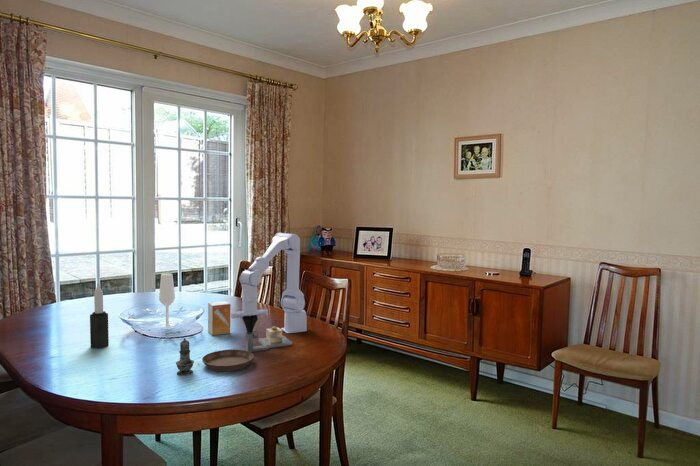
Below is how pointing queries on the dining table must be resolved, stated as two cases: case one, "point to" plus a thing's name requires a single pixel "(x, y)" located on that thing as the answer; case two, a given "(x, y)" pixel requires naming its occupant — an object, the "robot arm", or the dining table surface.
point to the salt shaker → (184, 359)
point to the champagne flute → (167, 294)
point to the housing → (274, 334)
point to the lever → (255, 334)
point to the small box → (219, 317)
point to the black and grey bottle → (99, 322)
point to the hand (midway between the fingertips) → (249, 334)
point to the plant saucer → (227, 360)
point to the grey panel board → (264, 343)
